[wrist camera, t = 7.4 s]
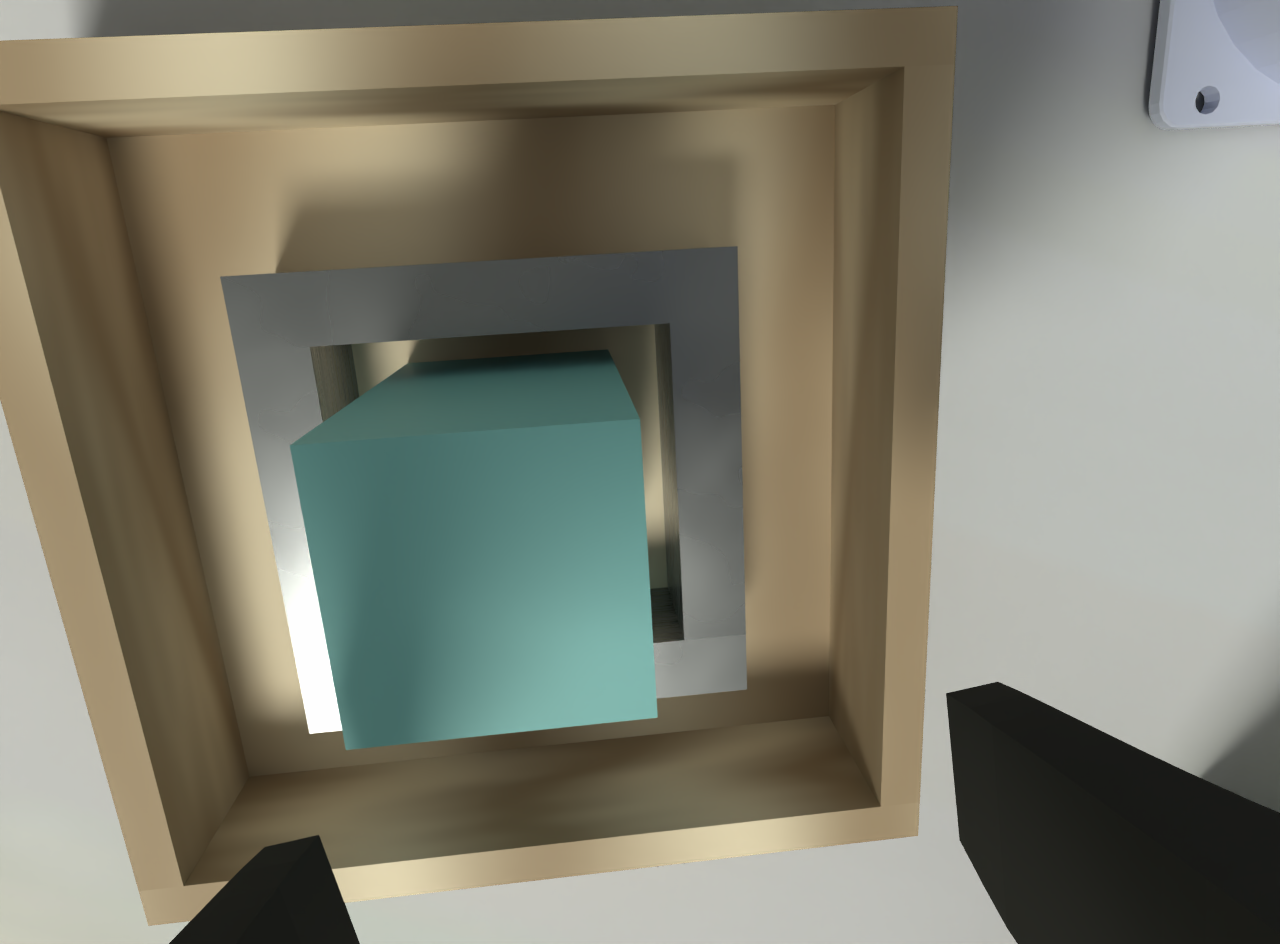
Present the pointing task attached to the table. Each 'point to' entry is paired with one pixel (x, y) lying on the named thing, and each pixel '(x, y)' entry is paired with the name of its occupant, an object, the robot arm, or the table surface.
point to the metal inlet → (506, 304)
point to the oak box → (463, 232)
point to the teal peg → (482, 550)
